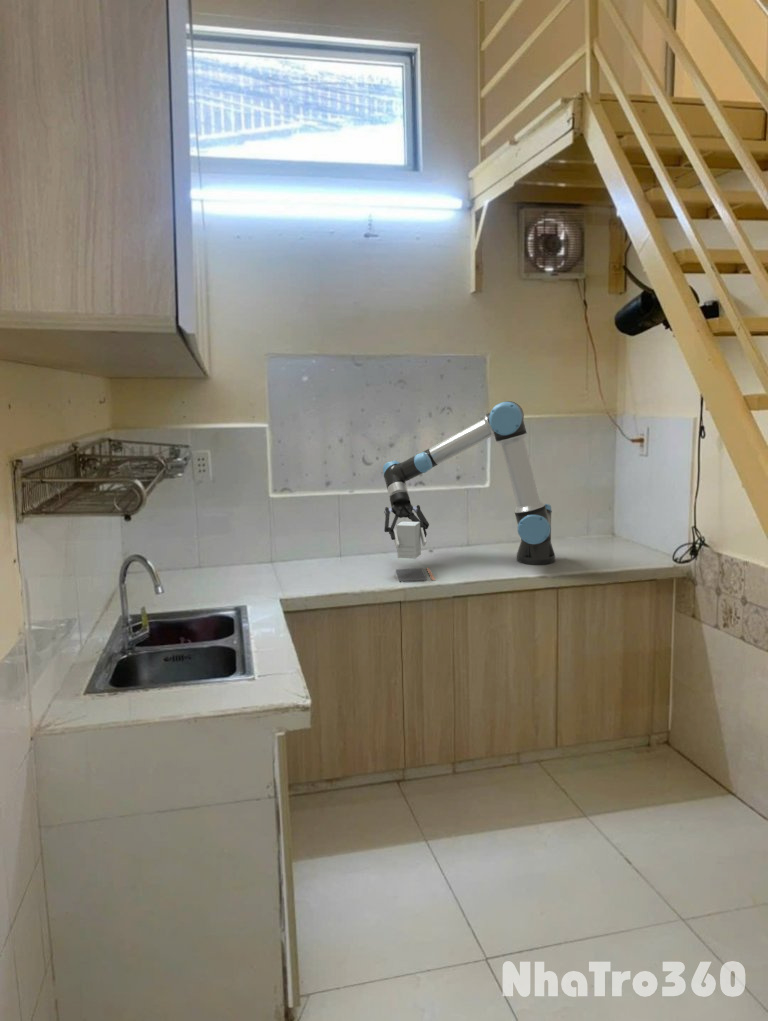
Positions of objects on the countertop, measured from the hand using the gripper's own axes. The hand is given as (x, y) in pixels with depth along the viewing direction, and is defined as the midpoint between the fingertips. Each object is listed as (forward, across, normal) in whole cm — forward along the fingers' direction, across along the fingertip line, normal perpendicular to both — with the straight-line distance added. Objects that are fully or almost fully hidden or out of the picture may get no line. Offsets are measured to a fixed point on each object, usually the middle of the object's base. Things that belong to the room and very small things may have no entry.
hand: (411, 545), depth 253 cm
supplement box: (+1, 0, -6) cm, 6 cm away
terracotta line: (+8, -8, -10) cm, 15 cm away
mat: (+7, 0, -11) cm, 13 cm away
